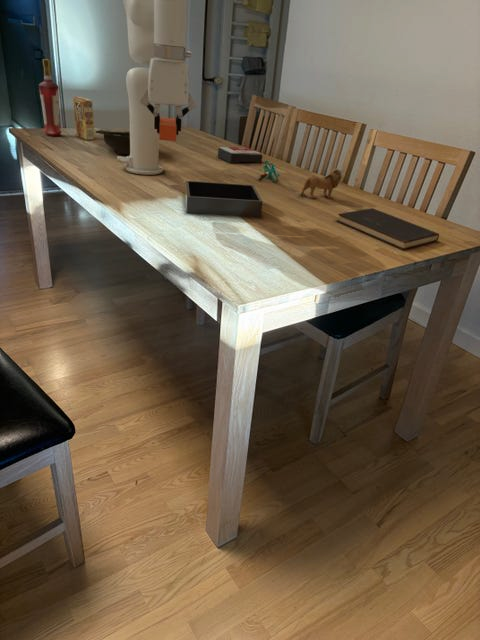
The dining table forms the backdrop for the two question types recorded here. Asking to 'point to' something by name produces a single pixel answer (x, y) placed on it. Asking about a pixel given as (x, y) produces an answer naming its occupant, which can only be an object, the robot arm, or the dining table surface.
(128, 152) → the stone bowl
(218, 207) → the tray
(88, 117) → the candy box
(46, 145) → the dining table surface
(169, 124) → the orange rectangular block
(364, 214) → the hardcover book
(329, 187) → the lion figurine
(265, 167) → the stick construction toy
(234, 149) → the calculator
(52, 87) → the liquor
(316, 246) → the dining table surface
